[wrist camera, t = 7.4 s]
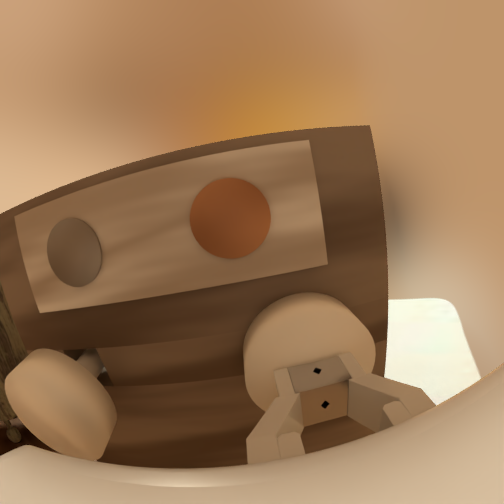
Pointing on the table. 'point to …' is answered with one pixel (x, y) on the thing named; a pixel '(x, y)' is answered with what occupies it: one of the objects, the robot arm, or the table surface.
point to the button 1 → (63, 402)
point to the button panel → (198, 279)
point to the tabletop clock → (8, 362)
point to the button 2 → (300, 340)
